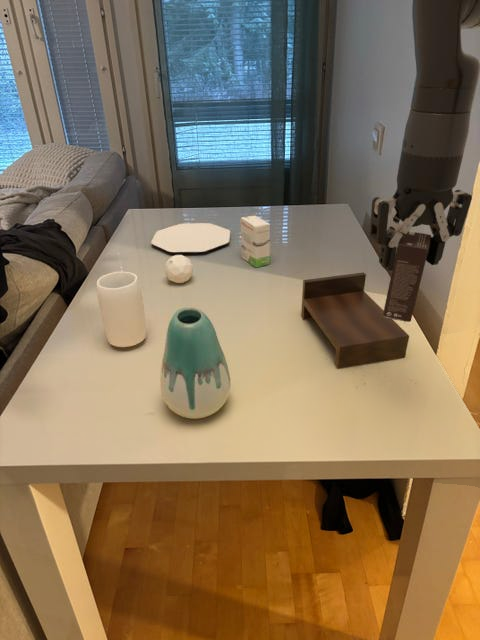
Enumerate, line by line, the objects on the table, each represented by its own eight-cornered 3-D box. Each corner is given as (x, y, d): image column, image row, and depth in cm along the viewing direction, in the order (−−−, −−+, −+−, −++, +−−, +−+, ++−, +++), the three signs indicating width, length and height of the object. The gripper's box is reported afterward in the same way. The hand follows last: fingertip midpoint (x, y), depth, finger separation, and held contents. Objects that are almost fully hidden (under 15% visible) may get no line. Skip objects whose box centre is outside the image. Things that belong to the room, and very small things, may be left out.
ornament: (198, 283, 118) (182, 267, 112) (173, 291, 121) (156, 275, 115) (198, 261, 122) (183, 244, 115) (174, 269, 124) (157, 252, 118)
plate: (228, 255, 134) (228, 250, 133) (146, 256, 134) (145, 251, 134) (231, 227, 154) (231, 222, 153) (160, 228, 155) (159, 223, 154)
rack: (359, 307, 106) (363, 272, 102) (405, 357, 90) (413, 317, 85) (301, 316, 104) (303, 280, 99) (337, 369, 87) (341, 328, 83)
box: (412, 323, 69) (429, 248, 63) (381, 317, 71) (394, 243, 65) (416, 304, 74) (432, 233, 68) (387, 299, 76) (400, 229, 69)
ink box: (270, 264, 128) (271, 223, 122) (254, 268, 126) (254, 226, 120) (255, 253, 134) (255, 214, 128) (240, 257, 133) (239, 217, 126)
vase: (235, 424, 75) (232, 330, 66) (163, 432, 74) (149, 338, 65) (227, 379, 85) (223, 293, 76) (163, 386, 84) (151, 299, 75)
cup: (145, 352, 93) (135, 289, 86) (103, 353, 93) (89, 291, 86) (150, 329, 101) (142, 269, 93) (111, 331, 100) (99, 271, 93)
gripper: (397, 158, 55) (376, 283, 64) (501, 150, 58) (468, 270, 67) (367, 145, 61) (353, 260, 70) (463, 138, 64) (437, 250, 73)
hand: (409, 265), depth 68 cm, fingers closed on box, 6 cm apart
